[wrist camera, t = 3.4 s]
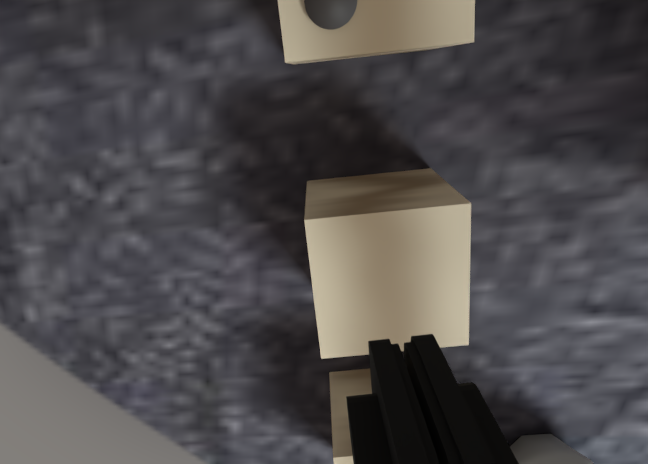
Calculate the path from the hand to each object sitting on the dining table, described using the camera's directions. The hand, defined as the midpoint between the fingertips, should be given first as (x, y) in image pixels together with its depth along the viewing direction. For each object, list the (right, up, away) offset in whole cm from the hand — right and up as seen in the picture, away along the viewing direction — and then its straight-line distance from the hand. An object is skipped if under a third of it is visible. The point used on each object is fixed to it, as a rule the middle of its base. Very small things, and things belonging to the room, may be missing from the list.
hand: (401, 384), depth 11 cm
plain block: (0, +4, +11) cm, 12 cm away
